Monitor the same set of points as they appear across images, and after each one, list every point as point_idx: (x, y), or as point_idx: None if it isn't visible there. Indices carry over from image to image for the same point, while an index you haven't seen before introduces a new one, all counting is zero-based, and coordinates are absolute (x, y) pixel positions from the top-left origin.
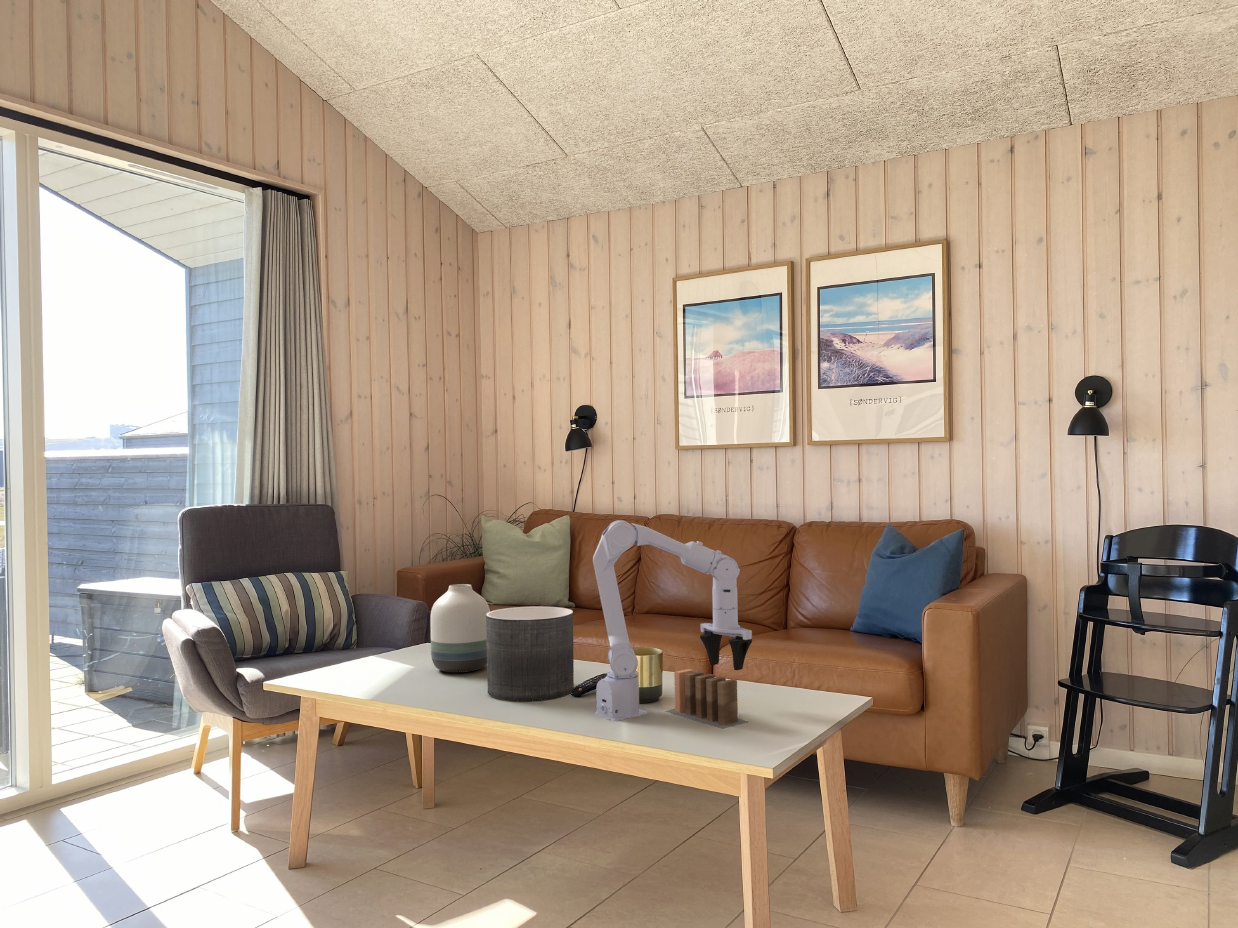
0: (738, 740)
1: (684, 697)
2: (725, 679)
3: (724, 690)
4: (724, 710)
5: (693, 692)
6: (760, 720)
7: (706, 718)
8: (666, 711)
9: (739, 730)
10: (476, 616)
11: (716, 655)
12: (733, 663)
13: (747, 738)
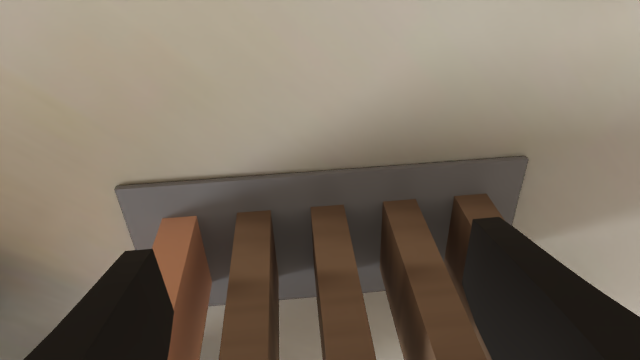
0: None
1: (197, 308)
2: (482, 352)
3: None
4: None
5: (276, 342)
6: (546, 88)
7: (356, 255)
8: None
9: (548, 241)
10: None
11: (129, 343)
12: (488, 345)
13: (620, 272)
